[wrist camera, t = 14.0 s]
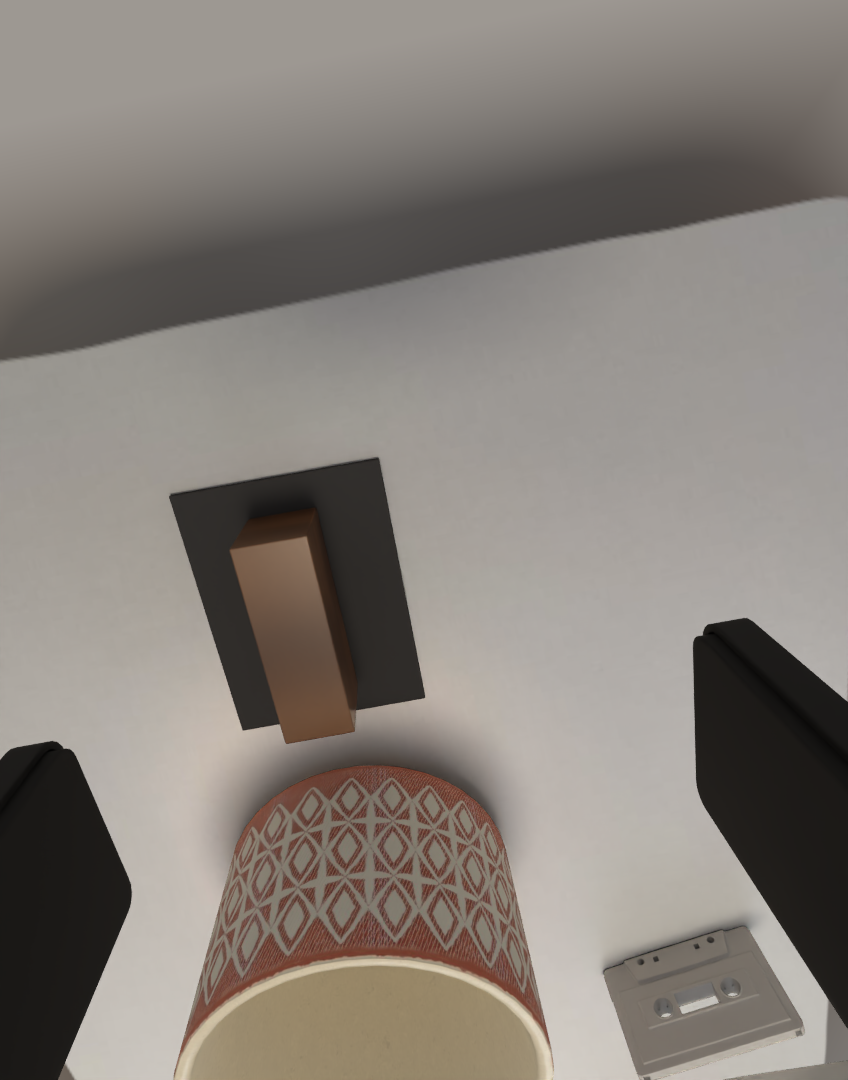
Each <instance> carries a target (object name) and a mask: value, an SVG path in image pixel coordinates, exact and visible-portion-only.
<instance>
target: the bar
mask: <svg viewBox="0 0 848 1080" xmlns="http://www.w3.org/2000/svg"><path fill="white" fill-rule="evenodd" d="M229 551H230V554H231V558H232V561H233V564H234V568H235V571H236V575H237V578H238V582H239V585H240V588H241V592H242V595H243V599H244V602H245V606H246V609H247V613H248V616H249V619H250V623H251V626H252V630H253V633H254V637H255V640H256V643H257V647H258V650H259V654H260V657H261V661H262V664H263V667H264V671H265V674H266V678H267V681H268V685H269V688H270V692H271V695H272V698H273V702H274V705H275V709H276V712H277V716H278V719H279V722H280V726H281V729H282V733H283V736H284V740H285V743H286V744H289V743H295V742H300V741H306V740H311V739H317V738H323V737H328V736H334V735H339V734H345V733H350V732H354V731H355V721H356V705H357V689H358V682H357V678H356V674H355V669H354V665H353V661H352V657H351V652H350V648H349V644H348V640H347V635H346V631H345V627H344V623H343V618H342V614H341V610H340V606H339V601H338V597H337V593H336V589H335V584H334V580H333V576H332V572H331V567H330V563H329V559H328V555H327V550H326V546H325V542H324V538H323V533H322V529H321V525H320V521H319V516H318V512H317V508H309V509H303V510H298V511H292V512H287V513H281V514H275V515H270V516H264V517H259V518H253V519H249V520H248V521H247V522H246V524H245V526H244V527H243V529H242V530H241V532H240V534H239V535H238V537H237V538H236V540H235V541H234V543H233V545H232V546H231V548H230V550H229Z"/></svg>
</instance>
